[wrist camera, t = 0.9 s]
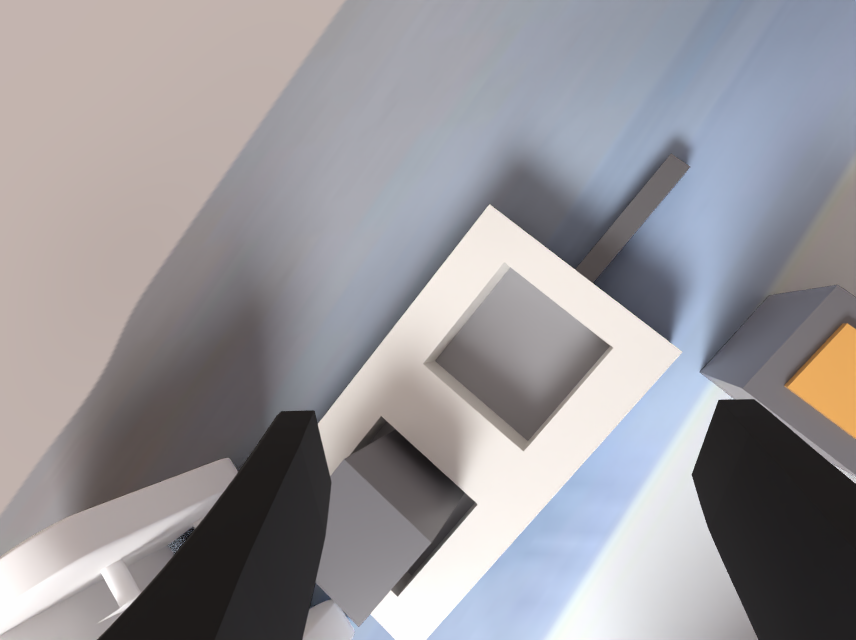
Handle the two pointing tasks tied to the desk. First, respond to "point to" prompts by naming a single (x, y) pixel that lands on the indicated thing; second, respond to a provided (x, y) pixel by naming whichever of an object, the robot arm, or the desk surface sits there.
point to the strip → (478, 415)
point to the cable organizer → (116, 562)
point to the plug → (799, 367)
